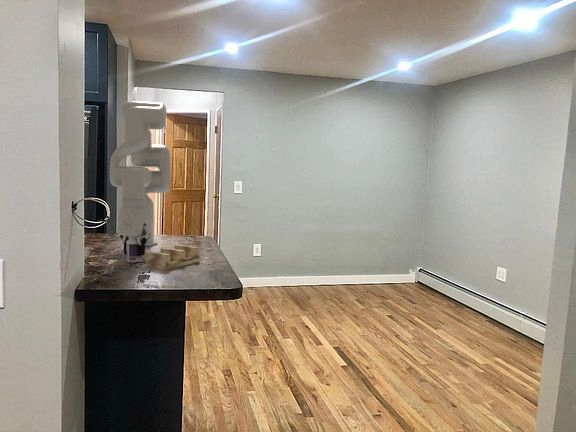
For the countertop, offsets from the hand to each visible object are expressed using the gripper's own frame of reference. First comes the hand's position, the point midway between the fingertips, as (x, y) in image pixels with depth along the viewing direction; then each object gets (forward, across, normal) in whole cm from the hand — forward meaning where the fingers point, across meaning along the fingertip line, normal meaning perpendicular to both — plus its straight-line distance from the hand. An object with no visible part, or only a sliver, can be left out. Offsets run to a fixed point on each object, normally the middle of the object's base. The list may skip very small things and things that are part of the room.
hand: (134, 253), depth 164 cm
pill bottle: (+3, 0, 0) cm, 3 cm away
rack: (+3, +13, +4) cm, 14 cm away
